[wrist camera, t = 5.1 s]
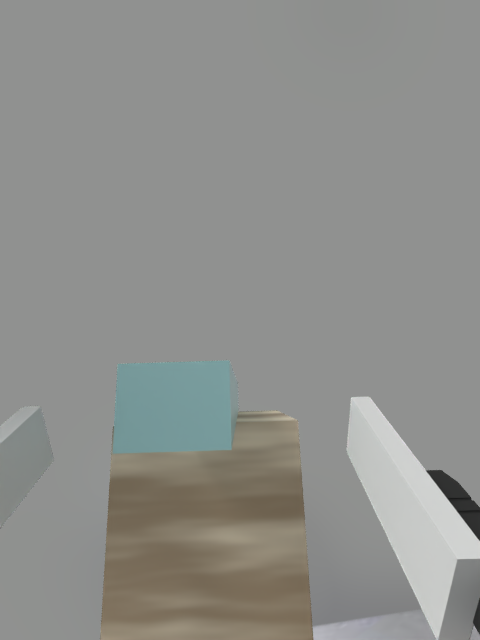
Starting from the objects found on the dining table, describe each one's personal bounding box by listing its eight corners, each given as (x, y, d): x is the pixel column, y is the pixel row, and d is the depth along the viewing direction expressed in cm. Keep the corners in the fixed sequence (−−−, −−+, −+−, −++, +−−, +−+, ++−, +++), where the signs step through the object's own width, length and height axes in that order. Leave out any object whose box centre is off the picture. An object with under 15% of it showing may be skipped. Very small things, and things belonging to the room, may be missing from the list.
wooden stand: (349, 1154, 13) (297, 420, 20) (68, 1165, 13) (113, 426, 20) (298, 798, 25) (277, 410, 32) (149, 803, 25) (160, 414, 32)
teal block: (231, 449, 10) (229, 360, 11) (112, 453, 10) (117, 364, 11) (238, 409, 36) (237, 383, 36) (203, 410, 36) (203, 384, 36)
